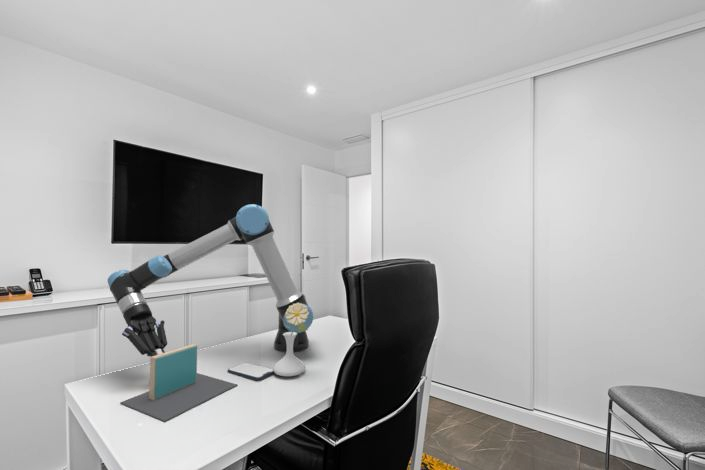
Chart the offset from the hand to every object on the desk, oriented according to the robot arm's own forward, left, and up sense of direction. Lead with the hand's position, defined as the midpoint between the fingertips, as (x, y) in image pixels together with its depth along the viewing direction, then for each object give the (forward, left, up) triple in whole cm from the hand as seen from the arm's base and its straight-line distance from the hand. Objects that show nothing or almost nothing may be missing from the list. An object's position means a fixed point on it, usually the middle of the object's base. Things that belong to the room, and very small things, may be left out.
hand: (164, 368), depth 101 cm
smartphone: (-24, -12, -7) cm, 27 cm away
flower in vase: (-38, -11, -6) cm, 40 cm away
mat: (-8, +4, -6) cm, 11 cm away
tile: (-4, +2, -6) cm, 7 cm away
